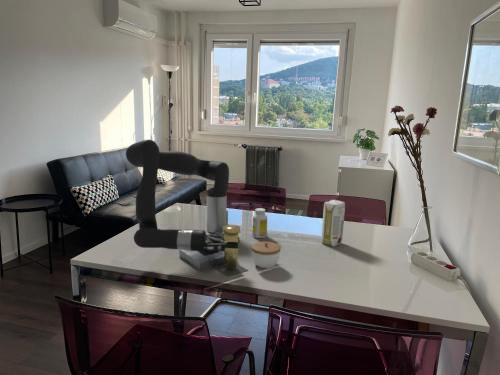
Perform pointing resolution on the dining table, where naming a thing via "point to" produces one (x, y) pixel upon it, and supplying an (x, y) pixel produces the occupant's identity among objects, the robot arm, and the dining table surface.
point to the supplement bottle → (259, 223)
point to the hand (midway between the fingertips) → (238, 242)
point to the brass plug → (231, 253)
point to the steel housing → (203, 258)
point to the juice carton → (333, 222)
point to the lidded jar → (265, 254)
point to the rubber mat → (230, 270)
